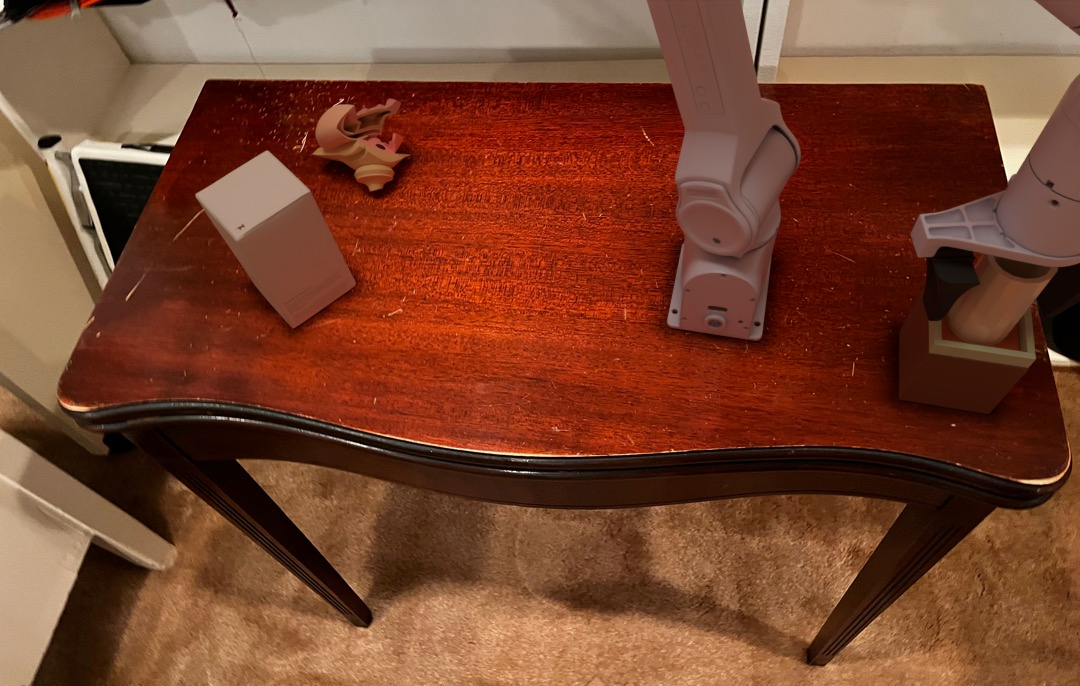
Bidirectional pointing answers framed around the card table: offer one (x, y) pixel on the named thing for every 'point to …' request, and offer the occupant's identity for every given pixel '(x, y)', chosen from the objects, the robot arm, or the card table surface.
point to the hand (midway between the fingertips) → (986, 307)
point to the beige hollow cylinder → (997, 299)
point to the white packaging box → (278, 237)
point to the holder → (959, 363)
